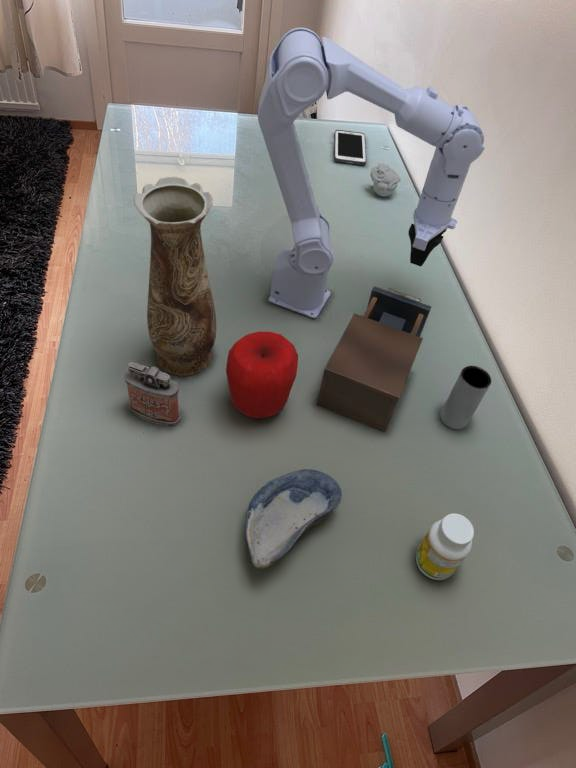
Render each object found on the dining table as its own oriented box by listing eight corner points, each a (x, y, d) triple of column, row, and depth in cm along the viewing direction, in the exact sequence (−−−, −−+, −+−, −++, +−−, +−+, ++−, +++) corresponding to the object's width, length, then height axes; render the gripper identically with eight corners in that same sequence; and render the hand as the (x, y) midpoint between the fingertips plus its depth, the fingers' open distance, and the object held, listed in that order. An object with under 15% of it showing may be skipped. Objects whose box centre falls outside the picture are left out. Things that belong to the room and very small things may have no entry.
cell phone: (334, 162, 141) (334, 158, 140) (334, 132, 151) (335, 129, 150) (365, 166, 141) (366, 162, 141) (364, 136, 151) (365, 132, 150)
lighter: (184, 413, 89) (182, 370, 82) (174, 430, 87) (171, 387, 79) (136, 396, 90) (129, 352, 83) (125, 413, 88) (117, 369, 81)
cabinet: (345, 349, 102) (354, 312, 95) (408, 373, 99) (423, 338, 93) (316, 404, 93) (324, 368, 86) (385, 432, 91) (399, 397, 84)
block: (371, 342, 100) (376, 326, 97) (378, 328, 103) (383, 311, 100) (393, 351, 100) (399, 334, 97) (400, 336, 102) (406, 319, 99)
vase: (227, 348, 99) (232, 189, 76) (194, 391, 92) (189, 231, 69) (173, 325, 101) (163, 164, 78) (137, 366, 94) (114, 203, 71)
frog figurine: (366, 184, 136) (372, 156, 131) (396, 189, 136) (403, 161, 131) (365, 199, 132) (371, 170, 127) (395, 204, 132) (403, 176, 127)
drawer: (373, 300, 109) (381, 272, 104) (426, 320, 107) (437, 291, 102) (342, 359, 99) (350, 330, 93) (401, 382, 97) (412, 354, 92)
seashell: (340, 586, 74) (347, 570, 71) (241, 580, 74) (243, 564, 70) (335, 481, 84) (341, 462, 81) (248, 475, 84) (250, 456, 80)
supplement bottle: (441, 589, 76) (466, 558, 68) (406, 562, 78) (427, 529, 70) (461, 560, 79) (487, 527, 71) (427, 534, 80) (449, 500, 73)
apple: (260, 368, 97) (267, 307, 86) (304, 406, 93) (317, 347, 82) (211, 400, 91) (211, 339, 81) (255, 442, 87) (261, 383, 77)
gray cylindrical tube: (434, 417, 94) (455, 375, 86) (449, 402, 96) (471, 360, 88) (458, 434, 92) (481, 393, 84) (473, 419, 94) (497, 377, 87)
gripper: (455, 223, 87) (429, 292, 97) (474, 178, 96) (448, 246, 106) (410, 208, 88) (389, 278, 99) (433, 165, 97) (411, 233, 108)
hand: (417, 260), depth 103 cm, fingers closed
